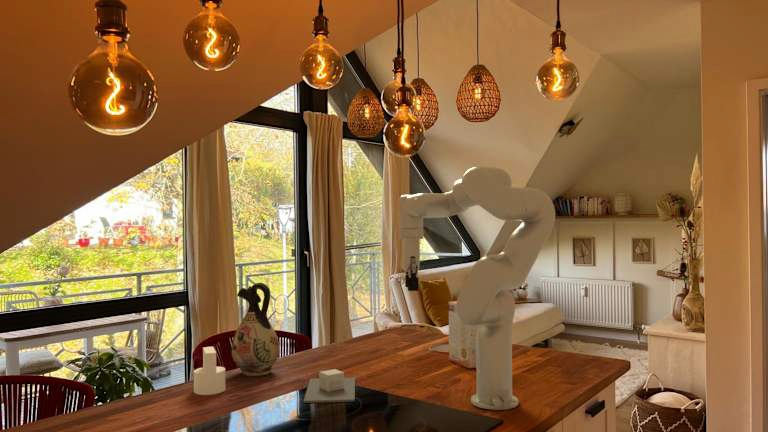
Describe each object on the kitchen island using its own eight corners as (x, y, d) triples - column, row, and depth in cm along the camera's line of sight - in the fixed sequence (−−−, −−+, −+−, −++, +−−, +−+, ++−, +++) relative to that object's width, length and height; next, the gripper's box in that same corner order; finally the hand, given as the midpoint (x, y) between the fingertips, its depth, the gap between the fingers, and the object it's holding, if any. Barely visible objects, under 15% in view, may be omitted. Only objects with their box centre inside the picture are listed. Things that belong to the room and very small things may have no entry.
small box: (335, 384, 176) (334, 368, 176) (345, 389, 172) (344, 372, 172) (318, 388, 173) (318, 371, 173) (328, 392, 168) (327, 375, 168)
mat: (354, 401, 162) (354, 399, 162) (303, 402, 161) (303, 400, 161) (355, 379, 184) (355, 377, 184) (310, 380, 183) (310, 378, 183)
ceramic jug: (221, 376, 189) (220, 283, 189) (253, 365, 203) (252, 278, 203) (262, 382, 181) (261, 285, 181) (292, 370, 195) (292, 280, 195)
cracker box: (484, 367, 197) (483, 305, 197) (468, 369, 194) (467, 306, 195) (463, 358, 210) (462, 300, 210) (448, 360, 207) (447, 301, 208)
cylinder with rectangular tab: (192, 388, 176) (192, 348, 176) (223, 384, 180) (223, 345, 180) (195, 396, 168) (194, 354, 168) (227, 392, 171) (226, 351, 171)
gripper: (397, 233, 192) (398, 285, 192) (401, 235, 175) (401, 292, 175) (420, 233, 192) (420, 285, 192) (426, 234, 175) (426, 292, 175)
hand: (411, 288), depth 183 cm, fingers open, 9 cm apart
